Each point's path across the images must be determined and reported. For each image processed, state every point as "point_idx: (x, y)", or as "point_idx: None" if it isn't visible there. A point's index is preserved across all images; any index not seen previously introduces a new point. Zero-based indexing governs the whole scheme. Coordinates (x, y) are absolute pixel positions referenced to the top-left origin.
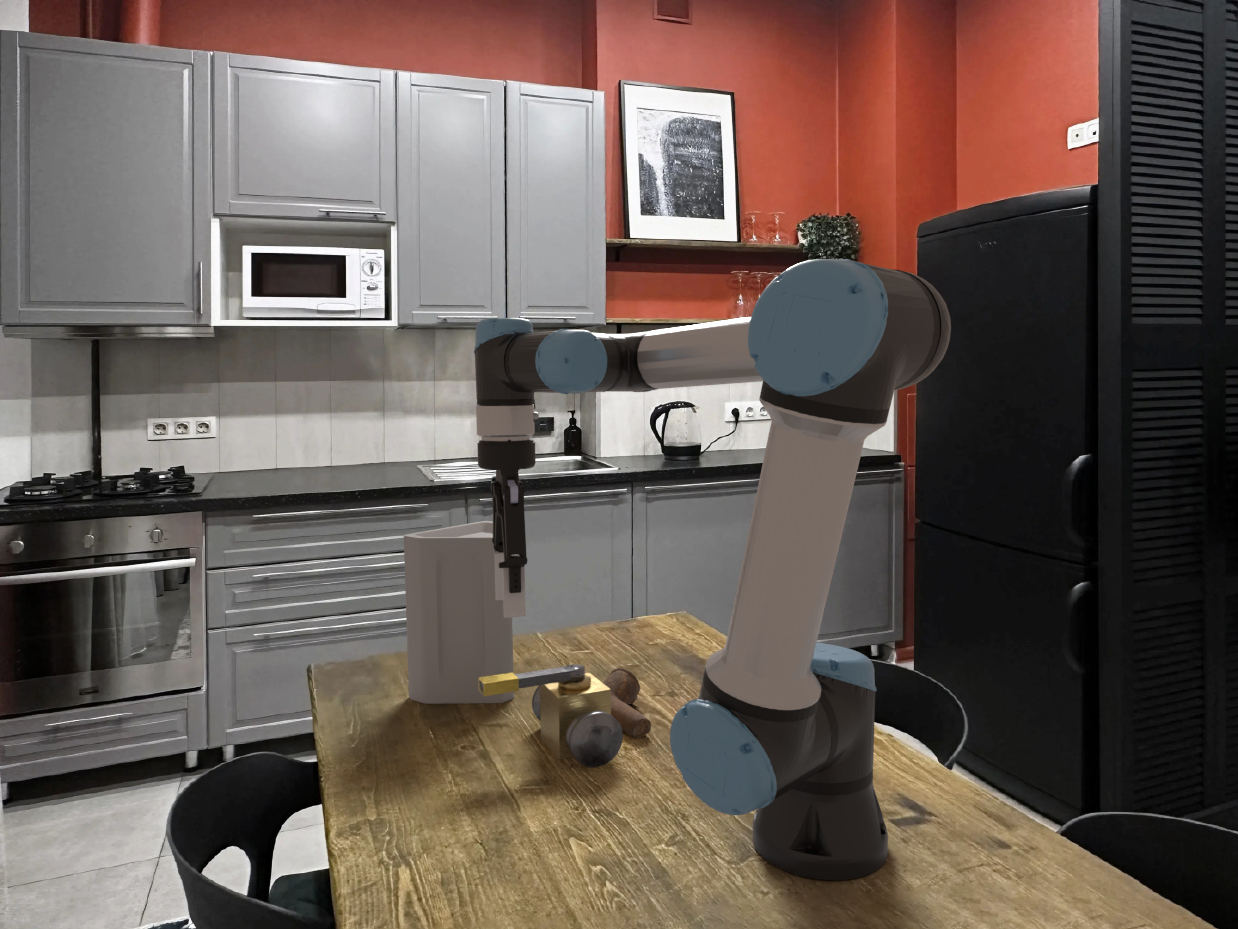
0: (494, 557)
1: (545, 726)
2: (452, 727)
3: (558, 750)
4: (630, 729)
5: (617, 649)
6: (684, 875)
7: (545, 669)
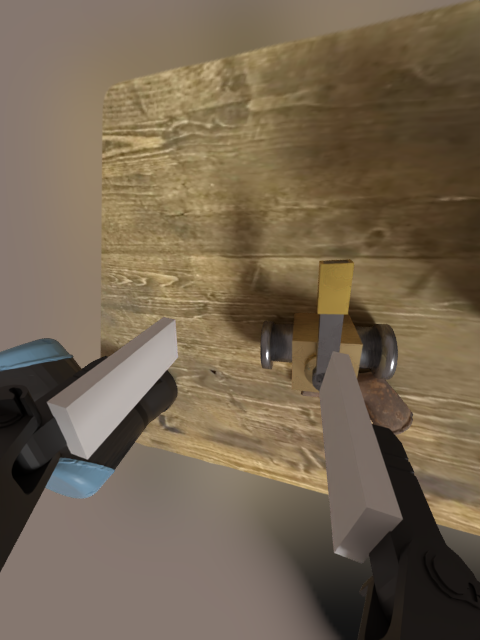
0: (391, 486)
1: None
2: (454, 231)
3: (297, 315)
4: None
5: None
6: (132, 318)
7: None
